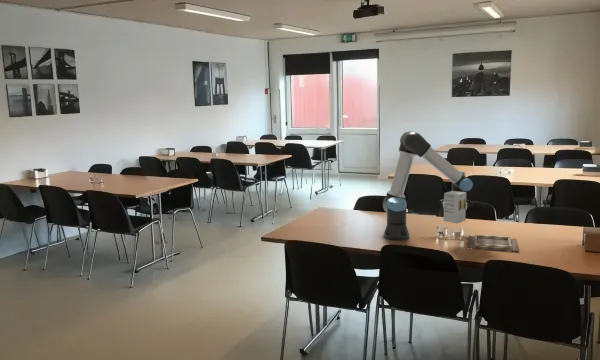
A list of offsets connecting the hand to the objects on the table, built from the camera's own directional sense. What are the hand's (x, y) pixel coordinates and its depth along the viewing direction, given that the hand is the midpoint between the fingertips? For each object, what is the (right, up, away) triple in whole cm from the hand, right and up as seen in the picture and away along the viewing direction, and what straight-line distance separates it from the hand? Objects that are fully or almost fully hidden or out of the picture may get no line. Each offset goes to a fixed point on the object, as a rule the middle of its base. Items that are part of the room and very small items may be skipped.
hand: (454, 206), depth 291 cm
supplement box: (+1, -9, +3) cm, 9 cm away
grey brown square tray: (+21, -22, 0) cm, 31 cm away
